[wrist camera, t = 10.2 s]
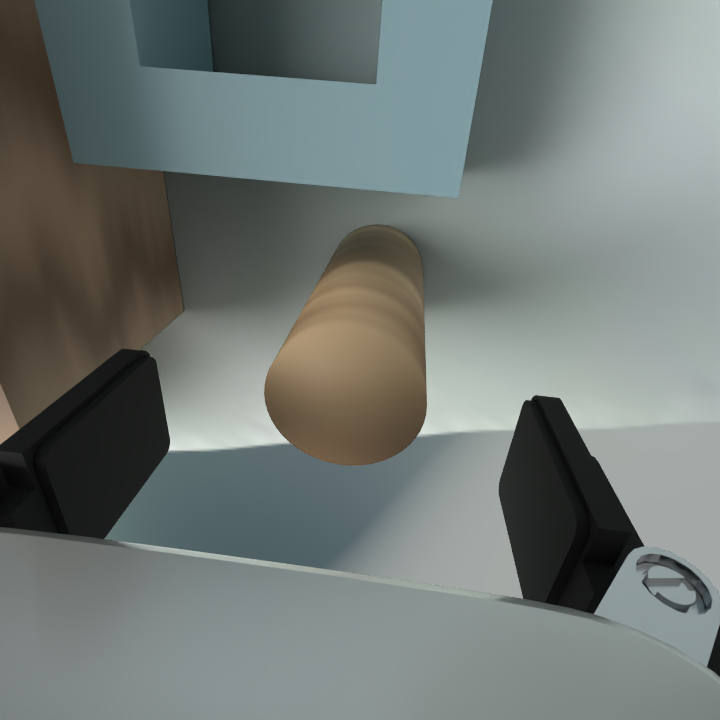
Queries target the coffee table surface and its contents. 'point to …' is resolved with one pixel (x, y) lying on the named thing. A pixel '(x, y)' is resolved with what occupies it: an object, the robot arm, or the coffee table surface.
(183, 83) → the socket block
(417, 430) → the dowel
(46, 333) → the wall
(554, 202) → the coffee table surface
